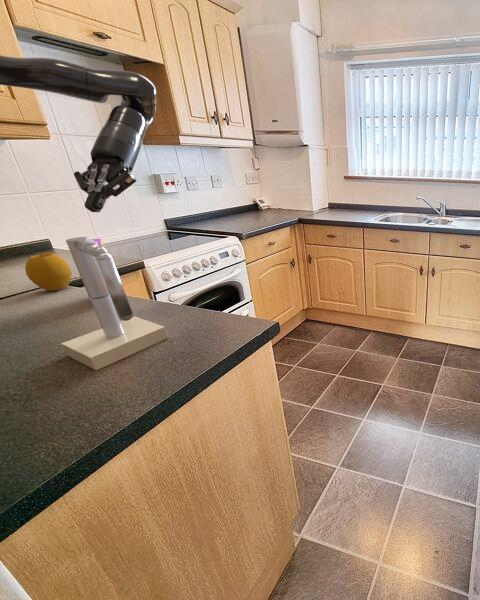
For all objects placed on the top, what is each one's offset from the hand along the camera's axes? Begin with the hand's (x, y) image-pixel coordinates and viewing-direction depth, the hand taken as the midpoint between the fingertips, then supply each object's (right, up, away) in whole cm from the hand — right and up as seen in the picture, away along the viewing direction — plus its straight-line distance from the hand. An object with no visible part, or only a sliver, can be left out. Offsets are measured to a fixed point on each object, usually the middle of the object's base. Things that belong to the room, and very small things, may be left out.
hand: (91, 209), depth 72 cm
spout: (+9, -22, -5) cm, 24 cm away
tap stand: (+4, -30, +2) cm, 30 cm away
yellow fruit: (-42, -16, +34) cm, 56 cm away
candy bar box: (-20, -19, +28) cm, 39 cm away
